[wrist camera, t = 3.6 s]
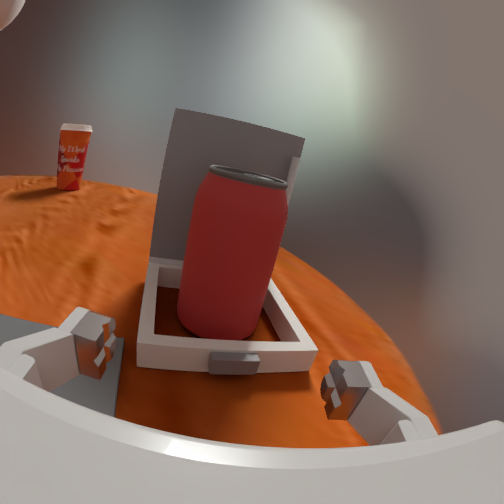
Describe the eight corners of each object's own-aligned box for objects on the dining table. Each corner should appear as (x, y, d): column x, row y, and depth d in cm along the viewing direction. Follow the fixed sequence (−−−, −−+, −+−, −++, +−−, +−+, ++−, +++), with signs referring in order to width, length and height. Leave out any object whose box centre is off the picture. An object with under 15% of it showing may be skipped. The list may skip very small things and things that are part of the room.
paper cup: (48, 190, 49) (57, 123, 44) (56, 183, 55) (64, 123, 50) (82, 192, 52) (92, 125, 48) (86, 186, 58) (96, 126, 54)
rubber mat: (-85, 433, 3) (-91, 426, 3) (-17, 315, 14) (-19, 308, 14) (112, 513, 7) (110, 510, 7) (124, 344, 18) (124, 338, 18)
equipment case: (135, 375, 16) (173, 78, 10) (148, 274, 28) (175, 109, 23) (313, 378, 19) (396, 148, 14) (260, 286, 32) (300, 138, 27)
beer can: (267, 344, 22) (314, 191, 18) (184, 348, 19) (215, 171, 16) (239, 301, 28) (270, 175, 24) (170, 299, 25) (193, 160, 21)
